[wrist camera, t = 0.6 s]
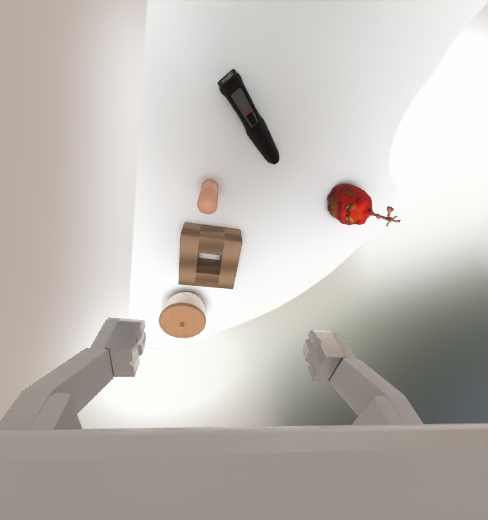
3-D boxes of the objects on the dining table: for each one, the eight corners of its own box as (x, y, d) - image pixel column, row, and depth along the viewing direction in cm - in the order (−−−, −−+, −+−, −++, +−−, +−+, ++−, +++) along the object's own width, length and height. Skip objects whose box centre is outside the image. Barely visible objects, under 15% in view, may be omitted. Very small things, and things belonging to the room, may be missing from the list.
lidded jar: (206, 283, 59) (203, 310, 51) (208, 314, 64) (206, 342, 56) (162, 285, 58) (153, 312, 50) (168, 316, 63) (161, 345, 55)
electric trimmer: (265, 166, 45) (268, 169, 43) (215, 84, 38) (215, 81, 35) (281, 154, 44) (285, 157, 42) (234, 67, 37) (236, 64, 34)
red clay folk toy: (324, 187, 48) (361, 213, 35) (357, 176, 47) (407, 199, 35) (327, 220, 52) (361, 253, 39) (358, 210, 52) (403, 241, 39)
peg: (202, 178, 45) (198, 193, 37) (218, 181, 46) (218, 196, 37) (200, 194, 47) (196, 212, 38) (216, 197, 47) (216, 215, 39)
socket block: (184, 222, 49) (180, 234, 44) (240, 229, 51) (242, 242, 46) (182, 268, 56) (178, 284, 50) (231, 273, 58) (233, 289, 52)
